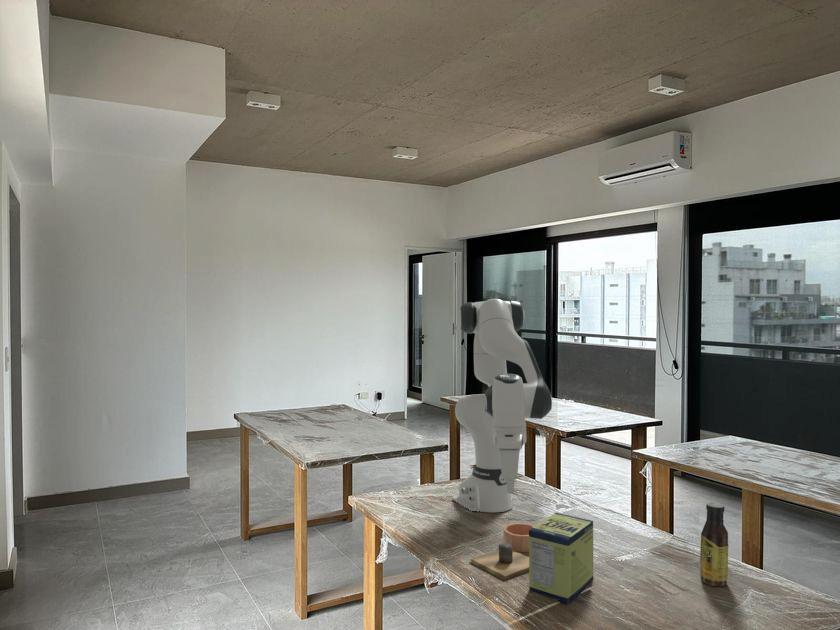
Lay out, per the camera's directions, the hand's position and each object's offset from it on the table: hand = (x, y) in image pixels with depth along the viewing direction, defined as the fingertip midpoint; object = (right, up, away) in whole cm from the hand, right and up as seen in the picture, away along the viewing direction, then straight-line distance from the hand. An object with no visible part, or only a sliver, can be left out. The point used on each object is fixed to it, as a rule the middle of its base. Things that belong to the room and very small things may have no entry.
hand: (511, 487), depth 163 cm
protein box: (+11, -22, -11) cm, 27 cm away
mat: (-1, -21, 0) cm, 21 cm away
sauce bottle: (+49, -21, -10) cm, 55 cm away
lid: (-1, -21, 0) cm, 21 cm away
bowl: (+5, -21, +14) cm, 25 cm away
